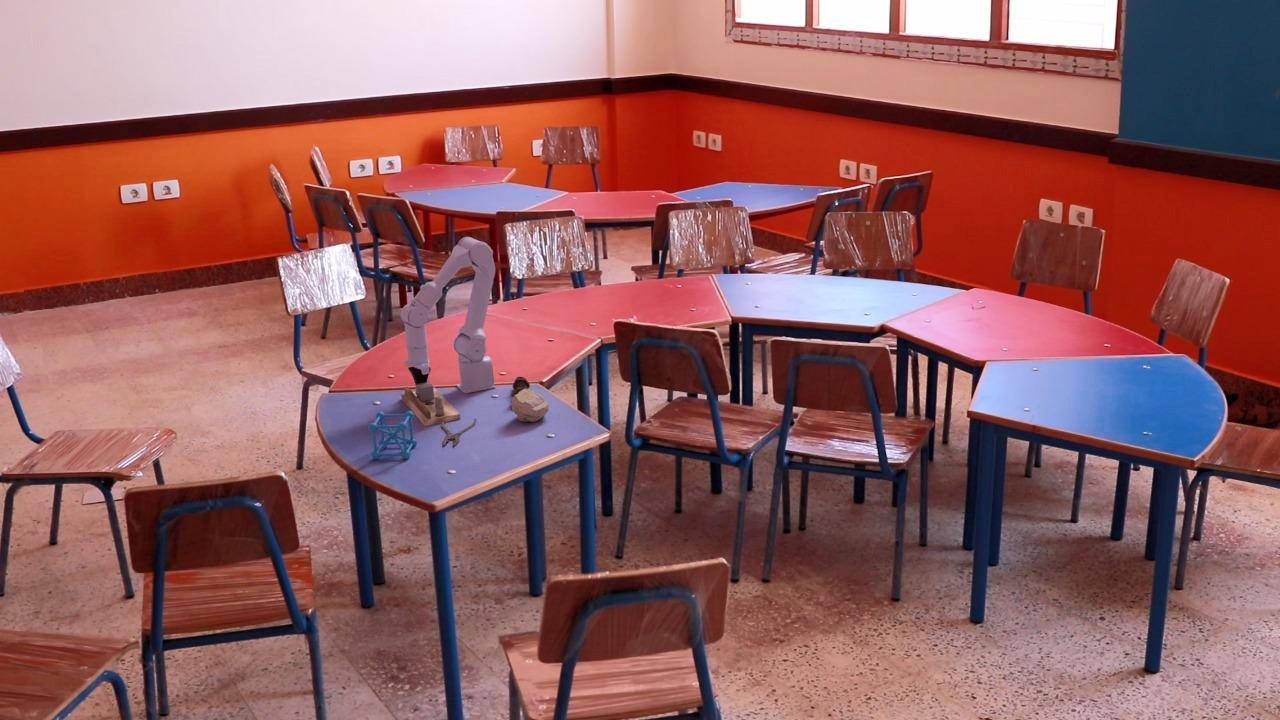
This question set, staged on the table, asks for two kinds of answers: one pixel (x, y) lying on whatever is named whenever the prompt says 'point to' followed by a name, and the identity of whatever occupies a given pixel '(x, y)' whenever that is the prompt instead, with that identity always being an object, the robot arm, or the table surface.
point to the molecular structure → (392, 435)
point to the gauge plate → (430, 408)
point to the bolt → (520, 385)
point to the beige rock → (529, 405)
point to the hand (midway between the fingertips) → (421, 390)
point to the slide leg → (424, 391)
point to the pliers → (454, 436)
